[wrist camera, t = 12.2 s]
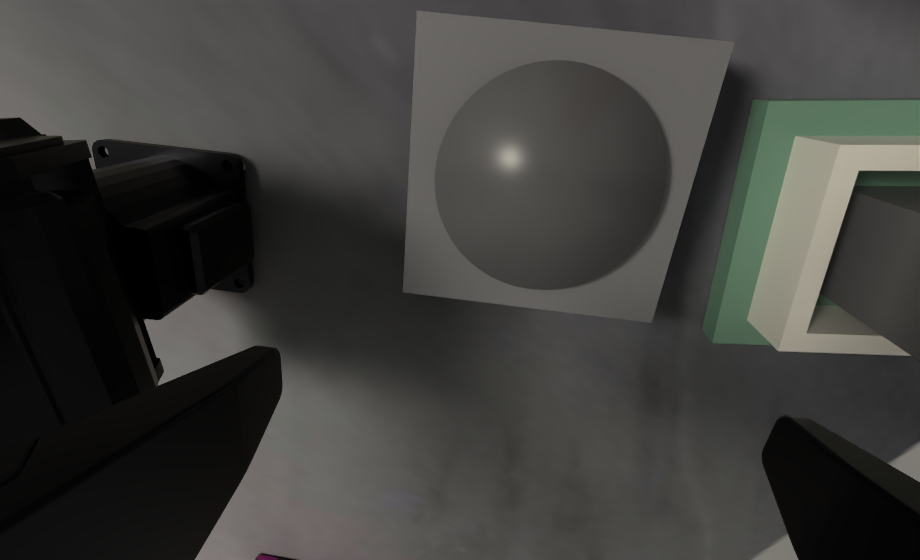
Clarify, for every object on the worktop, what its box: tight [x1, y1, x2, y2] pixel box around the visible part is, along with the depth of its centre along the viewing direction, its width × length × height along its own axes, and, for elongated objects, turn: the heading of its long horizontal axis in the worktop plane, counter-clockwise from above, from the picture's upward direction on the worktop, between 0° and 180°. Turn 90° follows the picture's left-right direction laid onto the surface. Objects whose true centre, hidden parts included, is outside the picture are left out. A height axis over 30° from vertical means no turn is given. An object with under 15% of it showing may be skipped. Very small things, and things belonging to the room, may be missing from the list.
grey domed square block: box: [403, 11, 735, 323], centre depth 18 cm, size 10×10×3 cm
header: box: [702, 98, 920, 356], centre depth 18 cm, size 10×10×4 cm
